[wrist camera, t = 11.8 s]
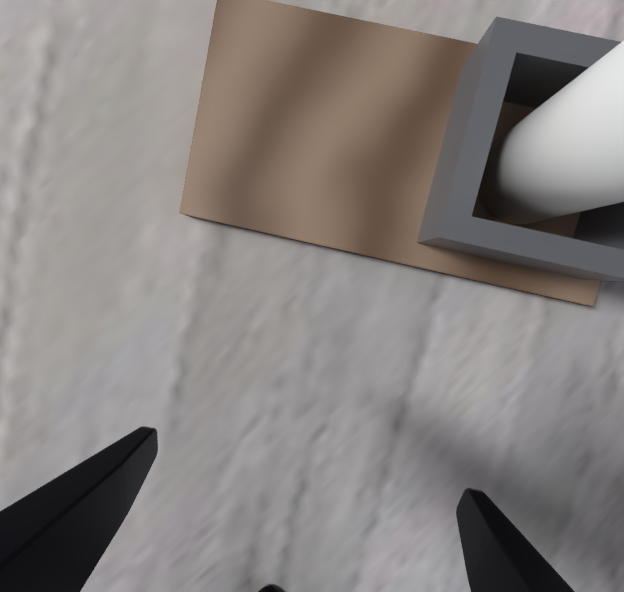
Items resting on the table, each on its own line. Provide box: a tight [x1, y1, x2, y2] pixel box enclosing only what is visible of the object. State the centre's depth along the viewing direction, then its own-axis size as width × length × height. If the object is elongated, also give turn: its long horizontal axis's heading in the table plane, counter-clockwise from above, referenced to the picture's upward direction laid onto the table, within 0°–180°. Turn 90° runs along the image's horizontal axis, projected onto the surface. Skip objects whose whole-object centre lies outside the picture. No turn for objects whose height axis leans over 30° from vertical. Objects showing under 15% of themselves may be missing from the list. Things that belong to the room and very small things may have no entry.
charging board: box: [180, 0, 601, 306], centre depth 18 cm, size 24×12×1 cm, turn 77°
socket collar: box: [417, 17, 624, 282], centre depth 16 cm, size 9×9×4 cm
